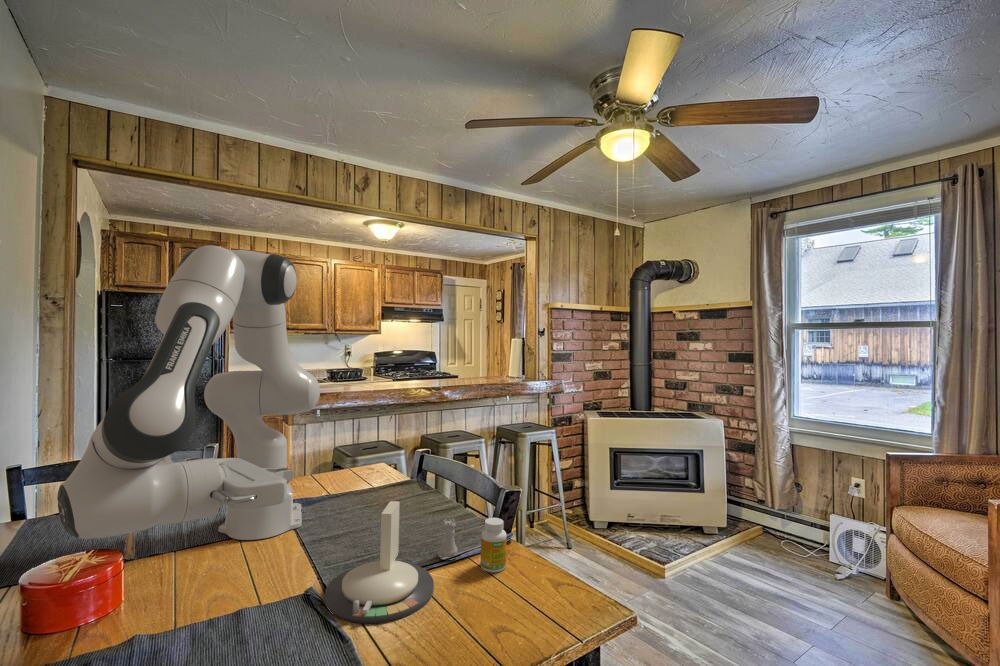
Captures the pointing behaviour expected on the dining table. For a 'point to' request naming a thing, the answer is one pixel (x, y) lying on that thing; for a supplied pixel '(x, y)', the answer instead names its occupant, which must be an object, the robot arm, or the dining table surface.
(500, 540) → the supplement bottle
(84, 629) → the dining table surface
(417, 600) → the base
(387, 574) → the peg dial
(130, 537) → the chocolate bar
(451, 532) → the rook chess piece
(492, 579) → the dining table surface
